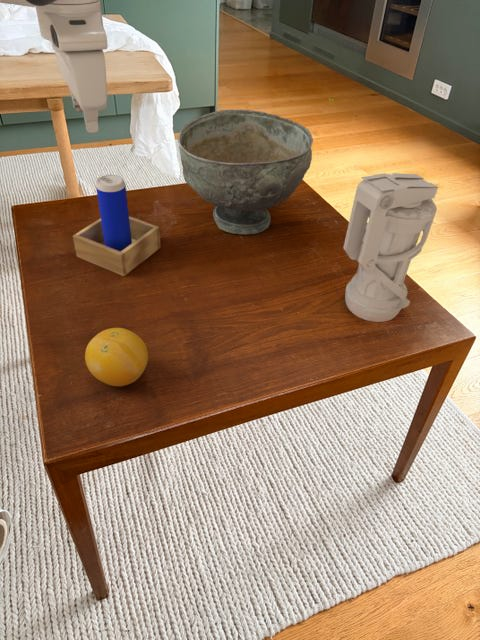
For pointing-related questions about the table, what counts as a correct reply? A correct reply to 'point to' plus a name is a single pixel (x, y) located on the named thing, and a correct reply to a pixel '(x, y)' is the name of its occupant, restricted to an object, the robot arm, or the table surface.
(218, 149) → the decorative bowl
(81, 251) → the wooden tray
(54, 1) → the robot arm
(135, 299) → the table surface
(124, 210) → the beverage can
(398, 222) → the lantern
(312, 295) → the table surface
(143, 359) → the fruit
